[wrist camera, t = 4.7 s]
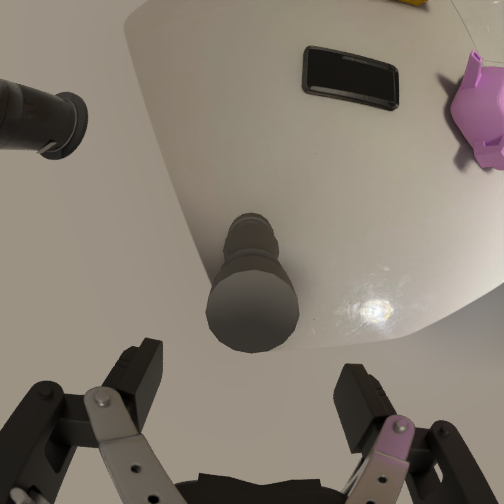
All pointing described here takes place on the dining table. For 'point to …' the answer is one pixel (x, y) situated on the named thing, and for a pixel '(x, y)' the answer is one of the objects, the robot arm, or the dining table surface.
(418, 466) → the robot arm
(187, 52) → the dining table surface
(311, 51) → the phone
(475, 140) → the teapot
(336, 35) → the dining table surface
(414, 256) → the dining table surface
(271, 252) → the candle holder
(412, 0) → the alarm clock
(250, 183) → the dining table surface
